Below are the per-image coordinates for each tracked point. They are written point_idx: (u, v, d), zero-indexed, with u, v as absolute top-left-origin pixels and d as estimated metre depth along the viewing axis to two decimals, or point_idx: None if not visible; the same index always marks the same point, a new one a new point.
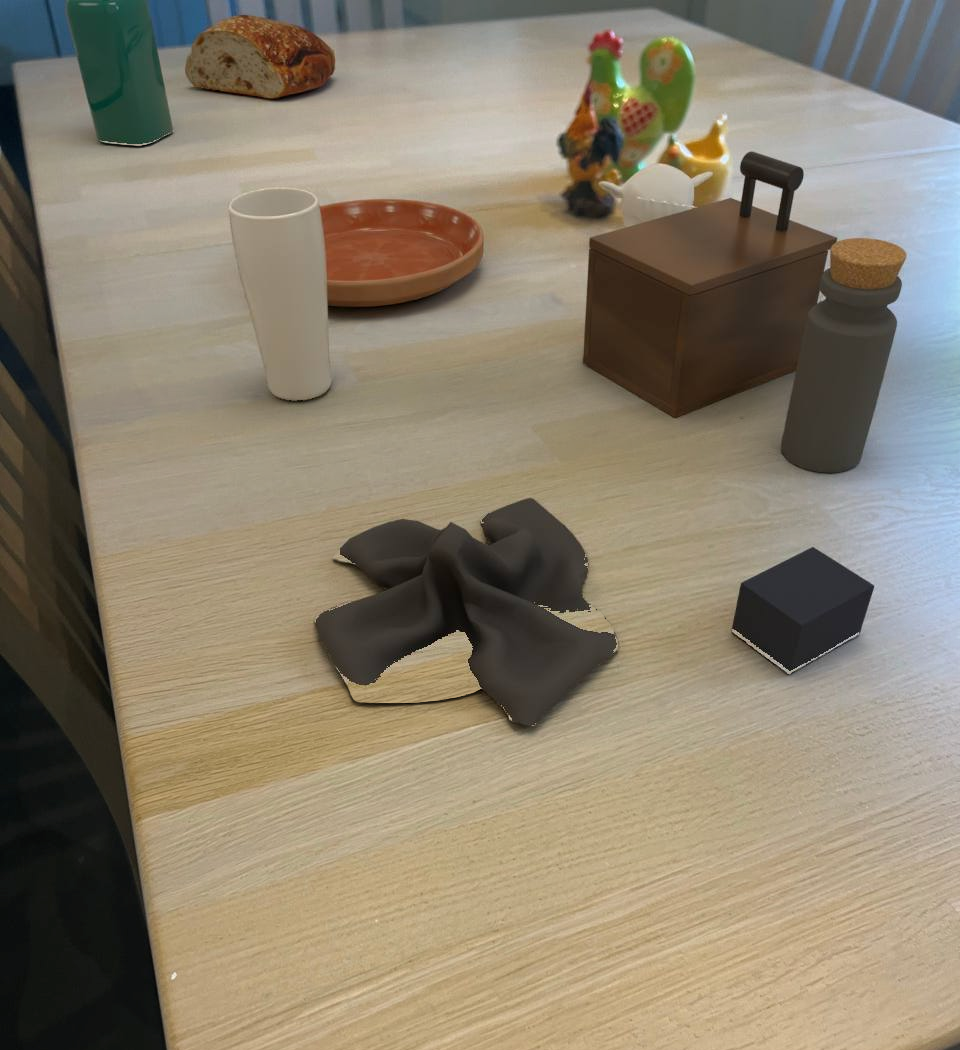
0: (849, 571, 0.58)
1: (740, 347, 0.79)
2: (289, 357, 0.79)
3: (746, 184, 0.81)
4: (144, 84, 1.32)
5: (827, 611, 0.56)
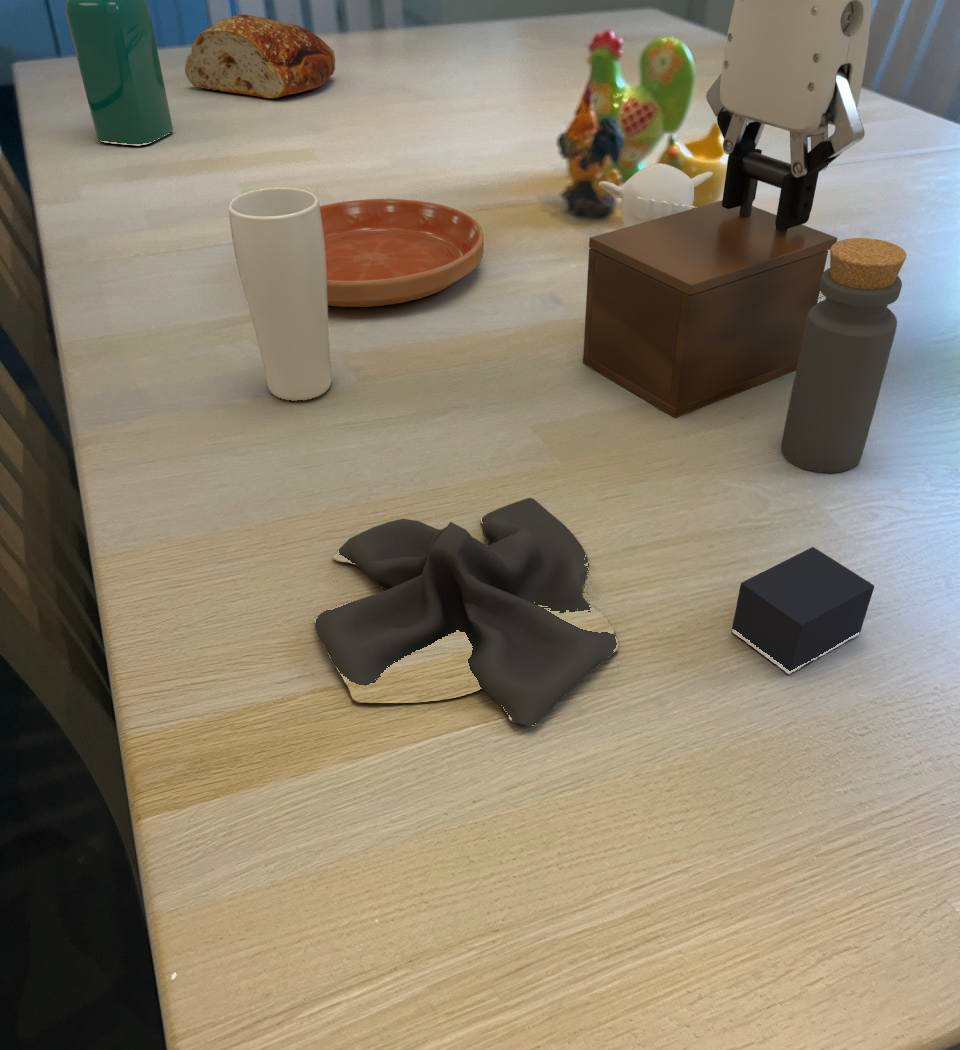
0: (849, 571, 0.58)
1: (740, 347, 0.79)
2: (289, 357, 0.79)
3: (746, 184, 0.81)
4: (144, 84, 1.32)
5: (827, 611, 0.56)
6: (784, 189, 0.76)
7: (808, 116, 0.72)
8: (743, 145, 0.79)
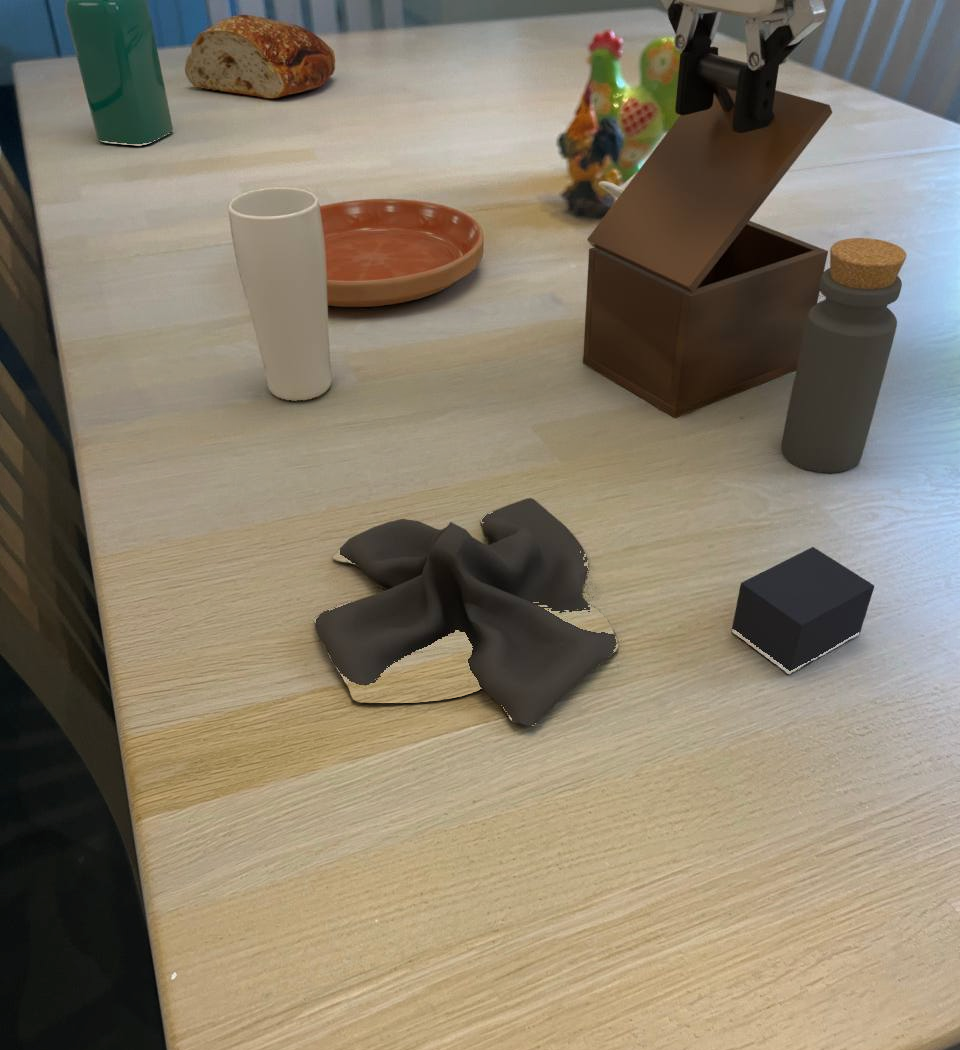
0: (849, 571, 0.58)
1: (740, 347, 0.79)
2: (289, 357, 0.79)
3: (713, 87, 0.74)
4: (144, 84, 1.32)
5: (827, 611, 0.56)
6: (740, 85, 0.69)
7: None
8: (696, 41, 0.72)
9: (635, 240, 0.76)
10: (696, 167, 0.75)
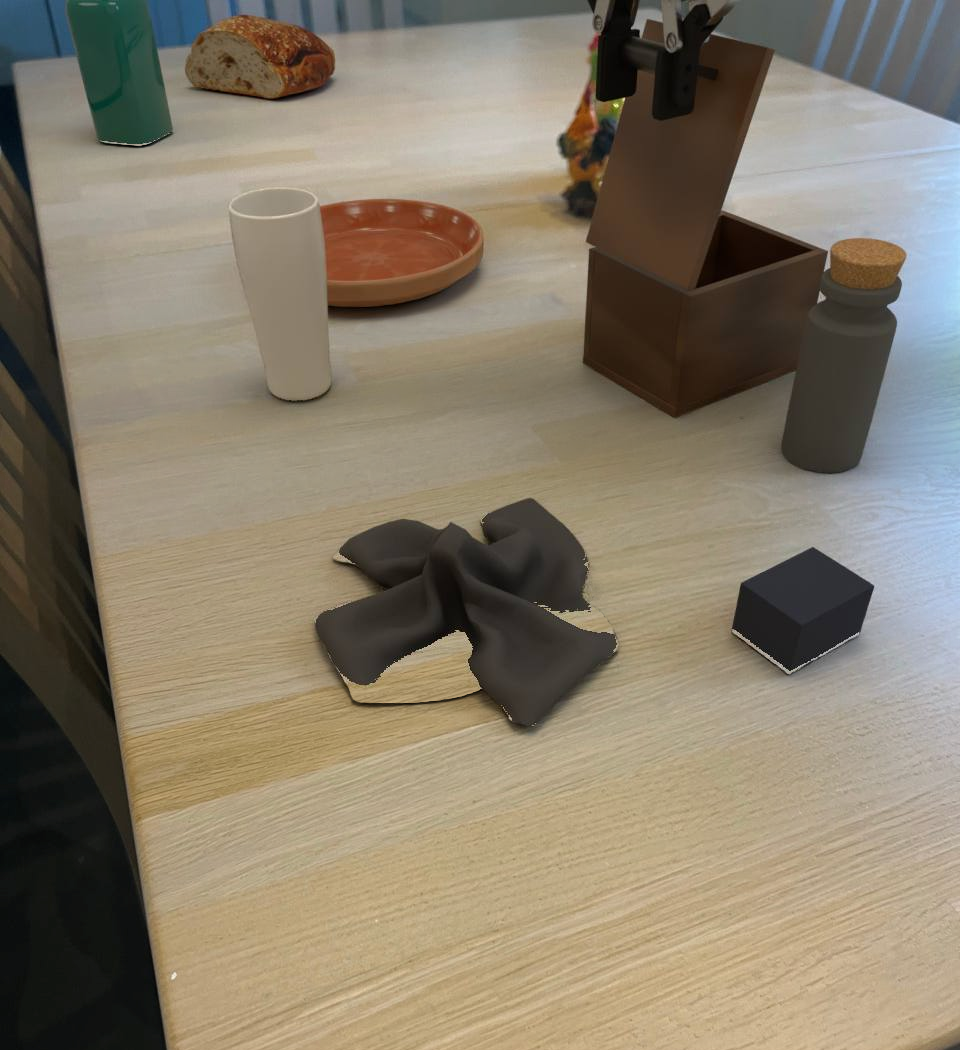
0: (849, 571, 0.58)
1: (740, 347, 0.79)
2: (289, 357, 0.79)
3: None
4: (144, 84, 1.32)
5: (827, 611, 0.56)
6: (658, 69, 0.64)
7: None
8: (615, 22, 0.67)
9: (627, 239, 0.76)
10: (660, 144, 0.72)
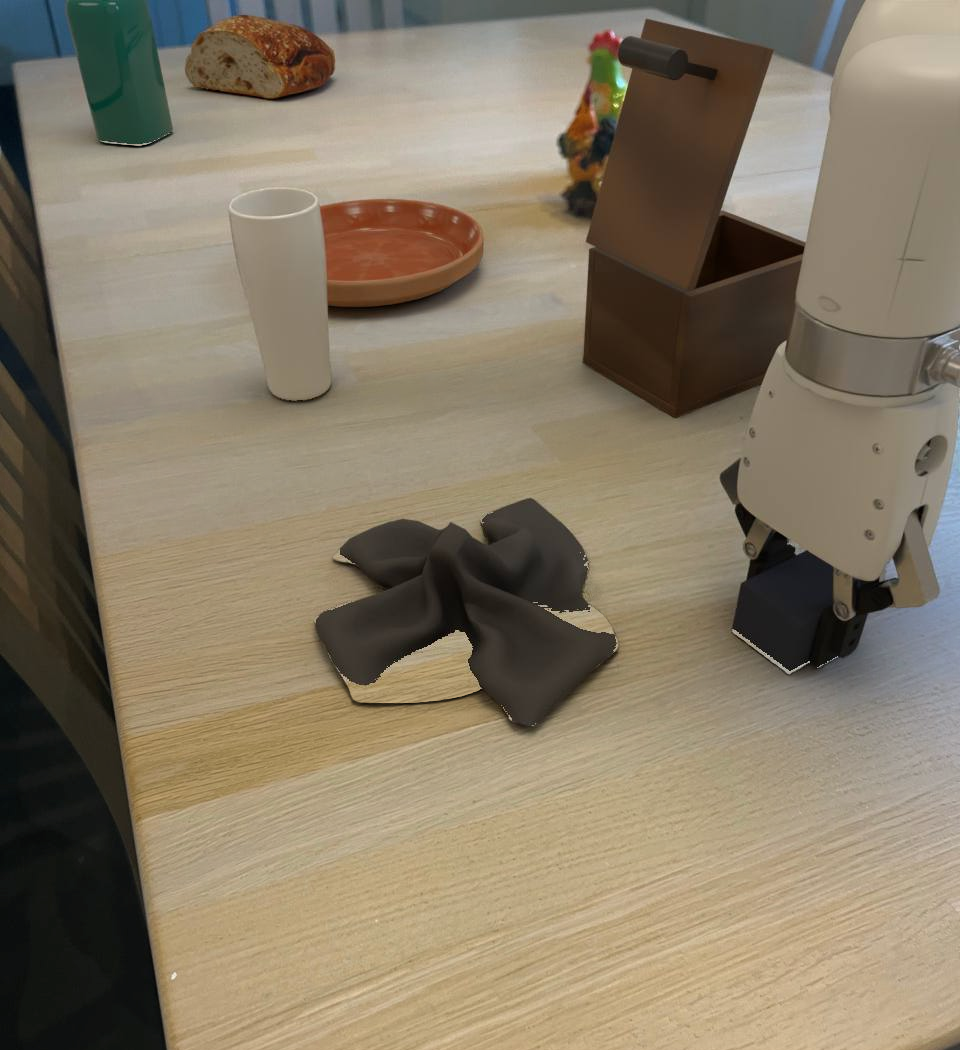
0: None
1: (740, 347, 0.79)
2: (289, 357, 0.79)
3: None
4: (144, 84, 1.32)
5: None
6: (822, 628, 0.56)
7: (864, 565, 0.51)
8: (771, 549, 0.58)
9: (627, 239, 0.76)
10: (660, 144, 0.72)
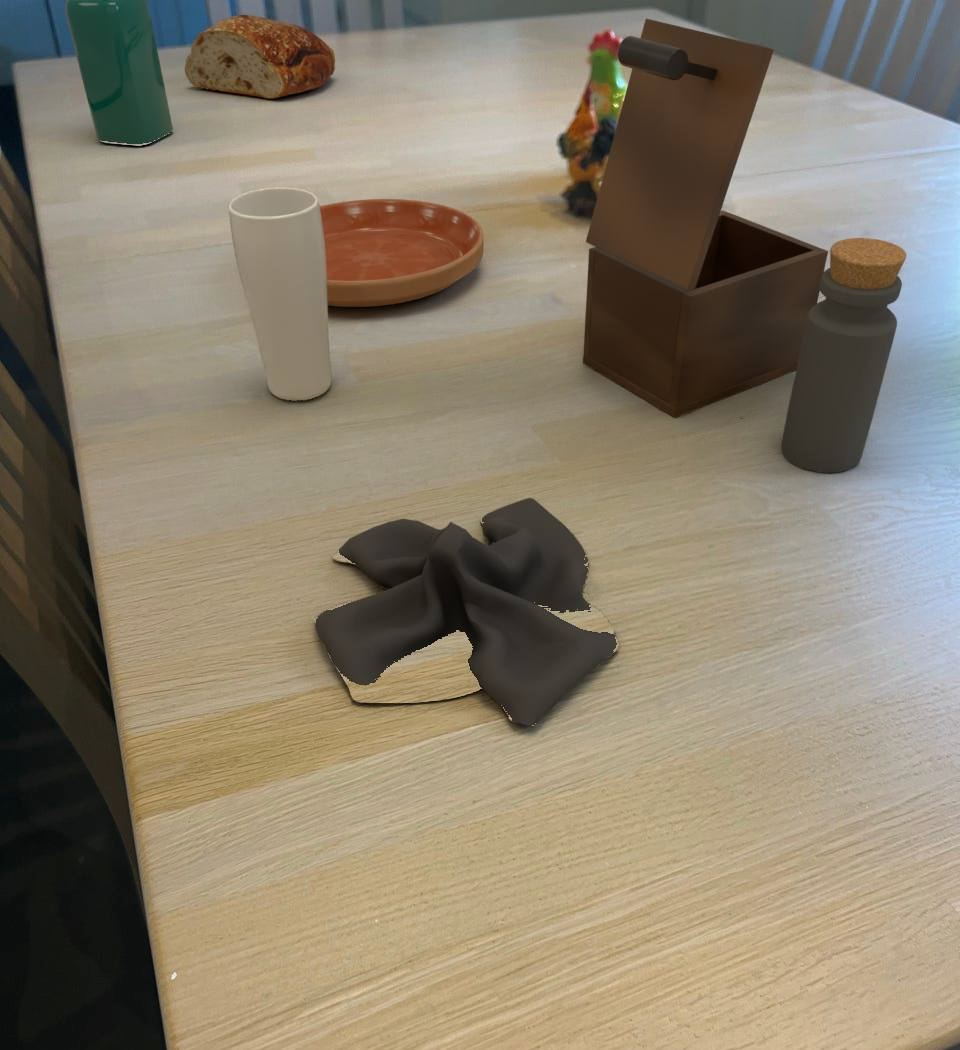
0: None
1: (740, 347, 0.79)
2: (289, 357, 0.79)
3: None
4: (144, 84, 1.32)
5: None
6: None
7: None
8: None
9: (627, 239, 0.76)
10: (660, 144, 0.72)
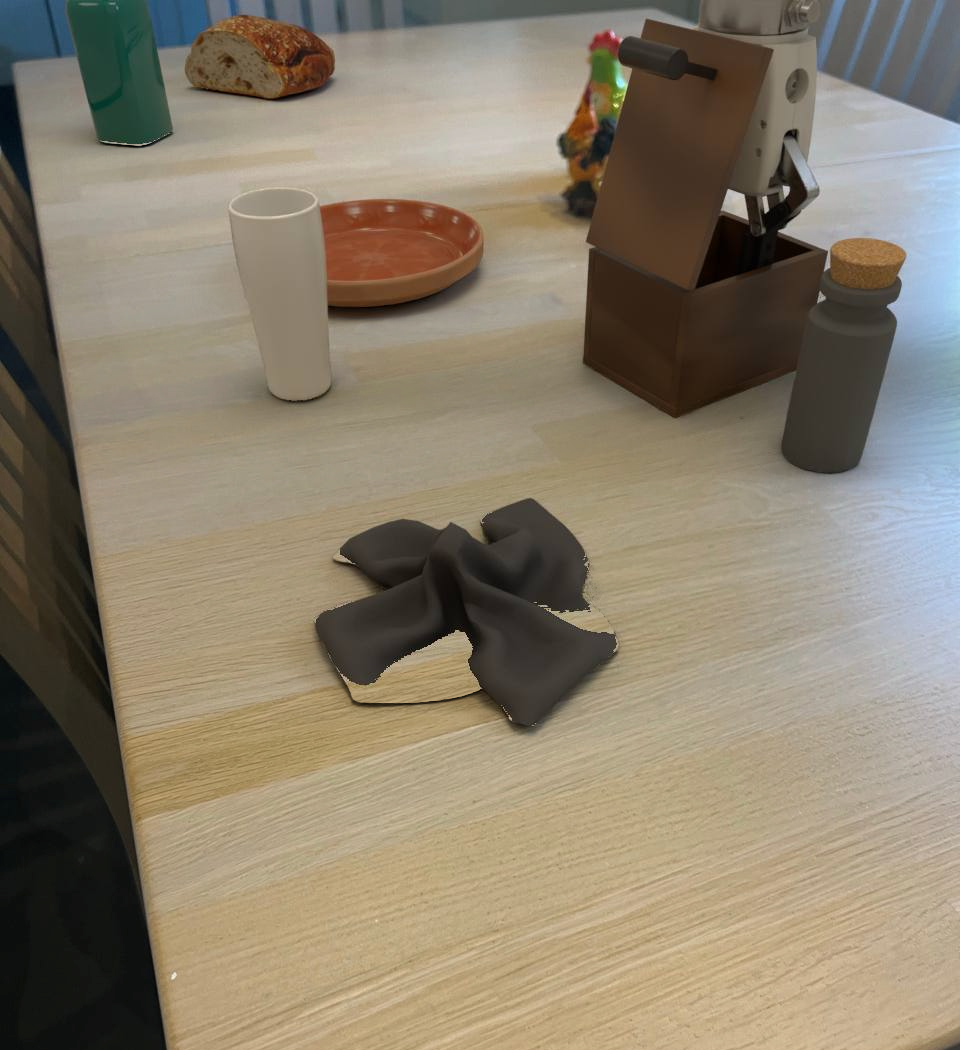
0: None
1: (740, 347, 0.79)
2: (289, 357, 0.79)
3: None
4: (144, 84, 1.32)
5: None
6: (743, 247, 0.76)
7: (756, 180, 0.72)
8: None
9: (627, 239, 0.76)
10: (660, 144, 0.72)
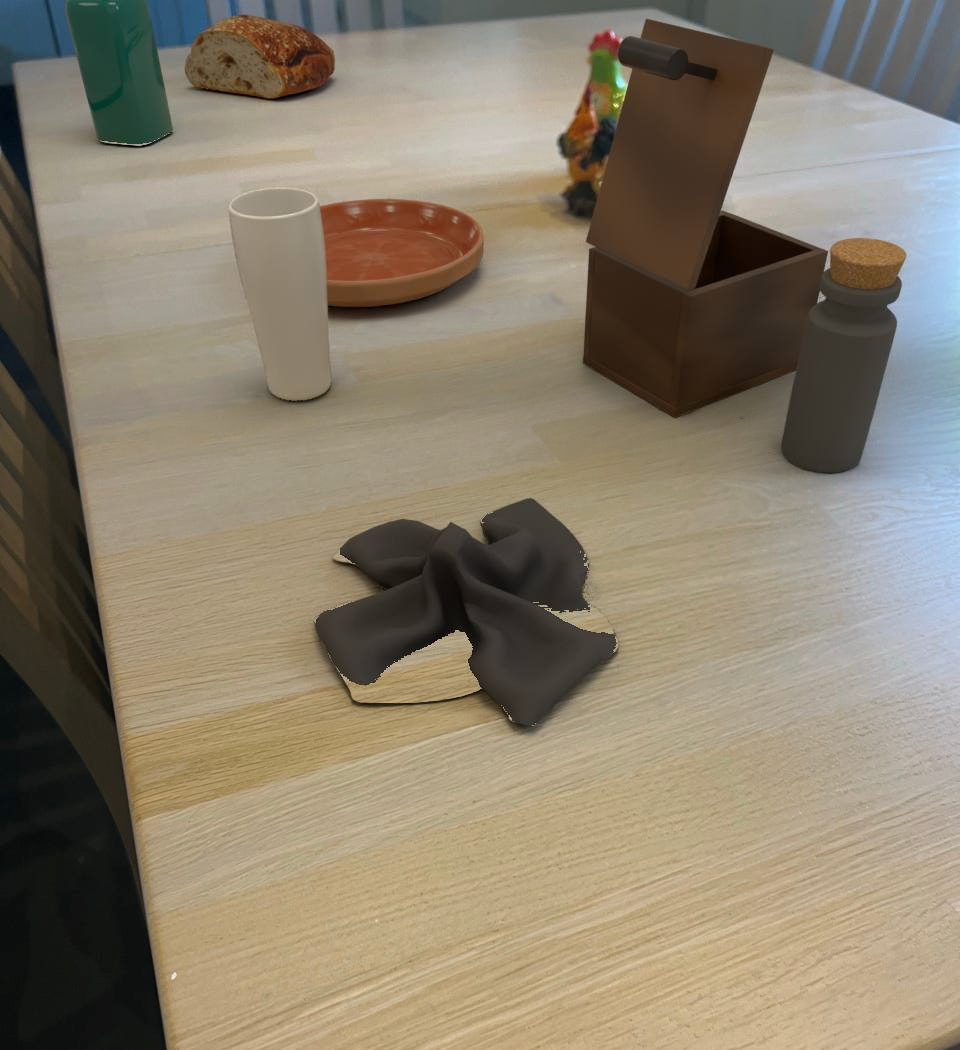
0: None
1: (740, 347, 0.79)
2: (289, 357, 0.79)
3: None
4: (144, 84, 1.32)
5: None
6: None
7: None
8: None
9: (627, 239, 0.76)
10: (660, 144, 0.72)
